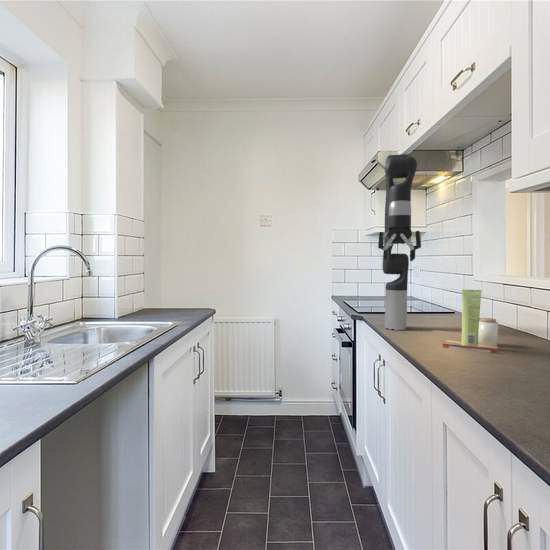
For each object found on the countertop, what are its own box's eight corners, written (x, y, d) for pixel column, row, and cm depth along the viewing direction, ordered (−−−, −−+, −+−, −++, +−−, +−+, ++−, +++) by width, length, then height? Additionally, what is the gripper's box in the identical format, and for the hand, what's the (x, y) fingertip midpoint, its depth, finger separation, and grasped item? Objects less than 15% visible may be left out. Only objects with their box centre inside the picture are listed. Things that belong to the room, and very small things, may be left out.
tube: (462, 344, 133) (464, 288, 132) (479, 346, 130) (481, 289, 129) (459, 347, 128) (462, 289, 127) (476, 349, 125) (479, 290, 125)
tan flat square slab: (447, 342, 142) (447, 336, 142) (497, 347, 134) (497, 341, 134) (442, 351, 129) (442, 343, 129) (497, 357, 121) (497, 349, 121)
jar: (478, 342, 138) (478, 317, 137) (497, 343, 135) (498, 318, 134) (477, 345, 132) (478, 319, 132) (497, 347, 129) (498, 320, 129)
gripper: (422, 215, 135) (421, 261, 136) (382, 217, 142) (381, 260, 143) (419, 212, 128) (418, 261, 129) (376, 214, 135) (376, 260, 136)
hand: (398, 261), depth 136 cm, fingers open, 8 cm apart
